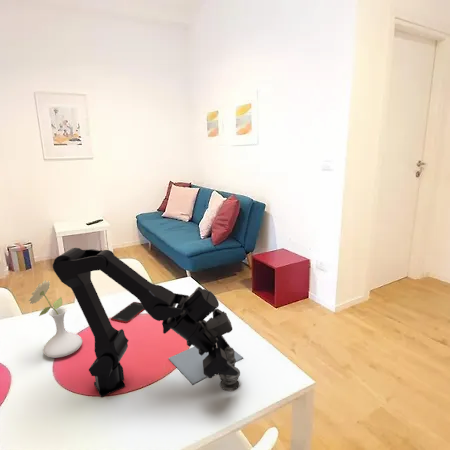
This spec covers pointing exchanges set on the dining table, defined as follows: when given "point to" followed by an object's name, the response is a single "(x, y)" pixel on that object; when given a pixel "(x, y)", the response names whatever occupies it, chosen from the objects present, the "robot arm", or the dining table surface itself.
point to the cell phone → (128, 313)
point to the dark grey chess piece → (228, 380)
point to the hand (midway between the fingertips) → (234, 362)
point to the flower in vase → (62, 340)
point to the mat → (193, 363)
